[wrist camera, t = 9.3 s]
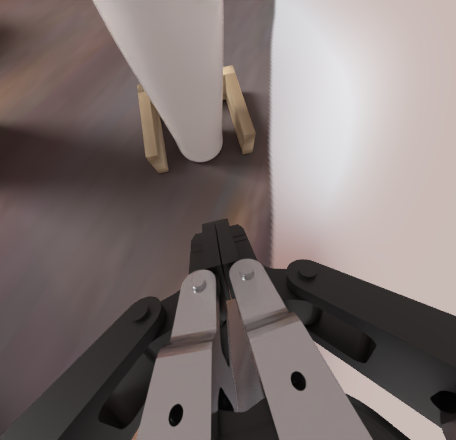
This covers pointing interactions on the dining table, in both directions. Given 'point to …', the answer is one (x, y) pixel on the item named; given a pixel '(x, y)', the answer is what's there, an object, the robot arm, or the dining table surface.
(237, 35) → the dining table surface
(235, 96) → the oak dock
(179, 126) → the drinking glass
